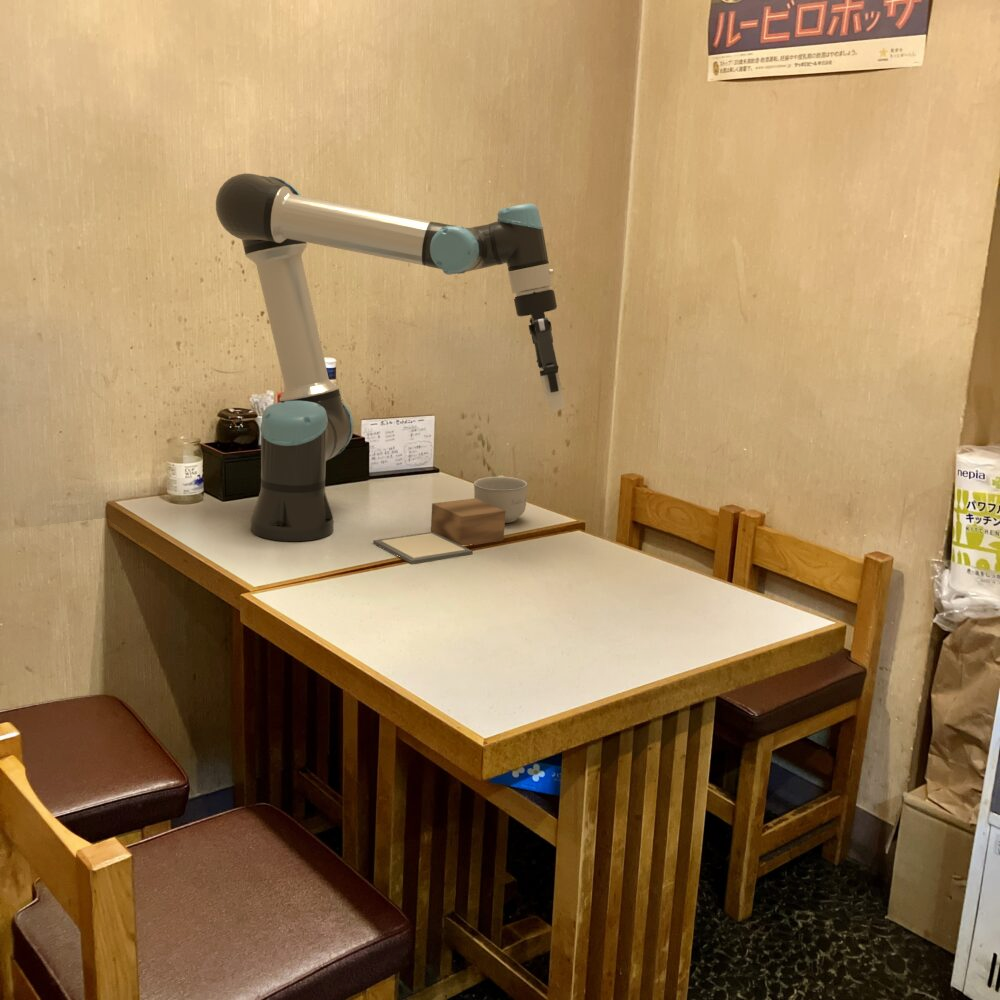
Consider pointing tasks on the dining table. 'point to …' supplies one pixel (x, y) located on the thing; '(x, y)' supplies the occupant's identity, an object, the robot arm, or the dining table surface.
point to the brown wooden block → (468, 521)
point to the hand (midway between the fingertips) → (554, 405)
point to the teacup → (503, 494)
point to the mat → (422, 547)
